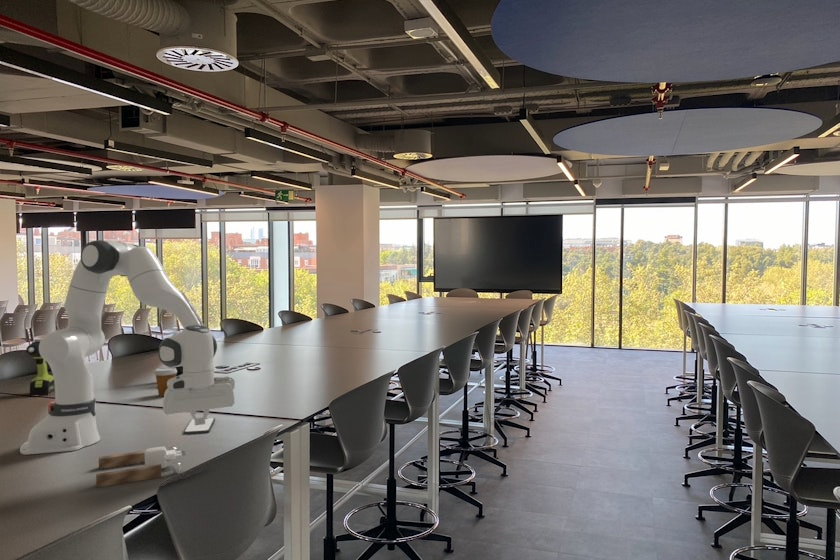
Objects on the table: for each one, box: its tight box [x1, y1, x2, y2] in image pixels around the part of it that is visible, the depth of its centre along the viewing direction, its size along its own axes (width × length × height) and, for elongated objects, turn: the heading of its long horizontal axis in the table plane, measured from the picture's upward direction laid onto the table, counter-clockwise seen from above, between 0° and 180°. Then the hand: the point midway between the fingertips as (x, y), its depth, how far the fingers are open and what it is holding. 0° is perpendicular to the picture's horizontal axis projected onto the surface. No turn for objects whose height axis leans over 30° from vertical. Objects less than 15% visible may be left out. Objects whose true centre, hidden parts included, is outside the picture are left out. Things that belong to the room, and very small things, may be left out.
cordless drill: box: [25, 340, 55, 396], centre depth 257 cm, size 23×7×25 cm, turn 18°
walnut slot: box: [95, 450, 162, 488], centre depth 164 cm, size 16×17×3 cm
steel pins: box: [168, 446, 181, 476], centre depth 169 cm, size 2×17×3 cm, turn 27°
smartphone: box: [183, 417, 216, 435], centre depth 208 cm, size 9×2×16 cm
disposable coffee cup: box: [154, 366, 177, 397], centre depth 258 cm, size 10×10×12 cm
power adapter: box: [144, 445, 187, 470], centre depth 168 cm, size 11×5×6 cm, turn 117°
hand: (200, 424), depth 172 cm, fingers closed
